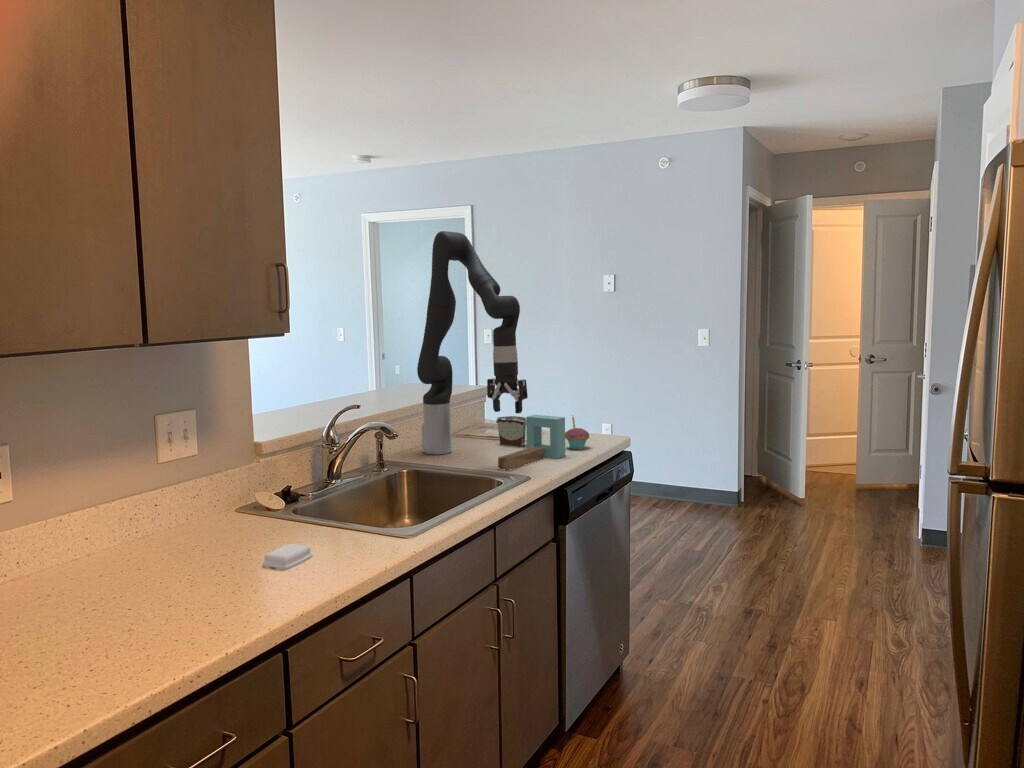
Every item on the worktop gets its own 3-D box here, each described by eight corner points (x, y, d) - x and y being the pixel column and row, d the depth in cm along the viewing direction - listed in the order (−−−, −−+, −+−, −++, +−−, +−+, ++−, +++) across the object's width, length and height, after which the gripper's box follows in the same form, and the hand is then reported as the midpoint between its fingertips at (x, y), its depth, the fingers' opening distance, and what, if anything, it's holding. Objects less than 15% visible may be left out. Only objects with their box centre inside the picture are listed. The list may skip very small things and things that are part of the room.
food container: (534, 445, 269) (534, 417, 268) (525, 448, 264) (525, 420, 263) (505, 441, 276) (505, 415, 275) (496, 444, 271) (495, 417, 269)
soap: (289, 553, 159) (288, 540, 159) (315, 557, 156) (314, 544, 156) (259, 568, 151) (258, 554, 151) (286, 572, 148) (285, 558, 148)
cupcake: (577, 451, 256) (577, 417, 255) (559, 448, 263) (559, 414, 261) (594, 448, 262) (594, 414, 260) (576, 444, 268) (576, 411, 267)
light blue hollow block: (527, 454, 253) (526, 416, 251) (535, 452, 257) (534, 414, 255) (557, 458, 246) (557, 419, 244) (565, 455, 250) (564, 417, 248)
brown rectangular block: (498, 470, 232) (498, 457, 232) (533, 458, 249) (533, 446, 248) (508, 471, 230) (508, 458, 230) (543, 459, 246) (543, 447, 246)
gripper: (480, 361, 234) (482, 412, 235) (515, 361, 225) (518, 415, 226) (495, 359, 239) (498, 409, 241) (531, 359, 230) (533, 412, 232)
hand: (507, 412), depth 234 cm, fingers open, 8 cm apart
